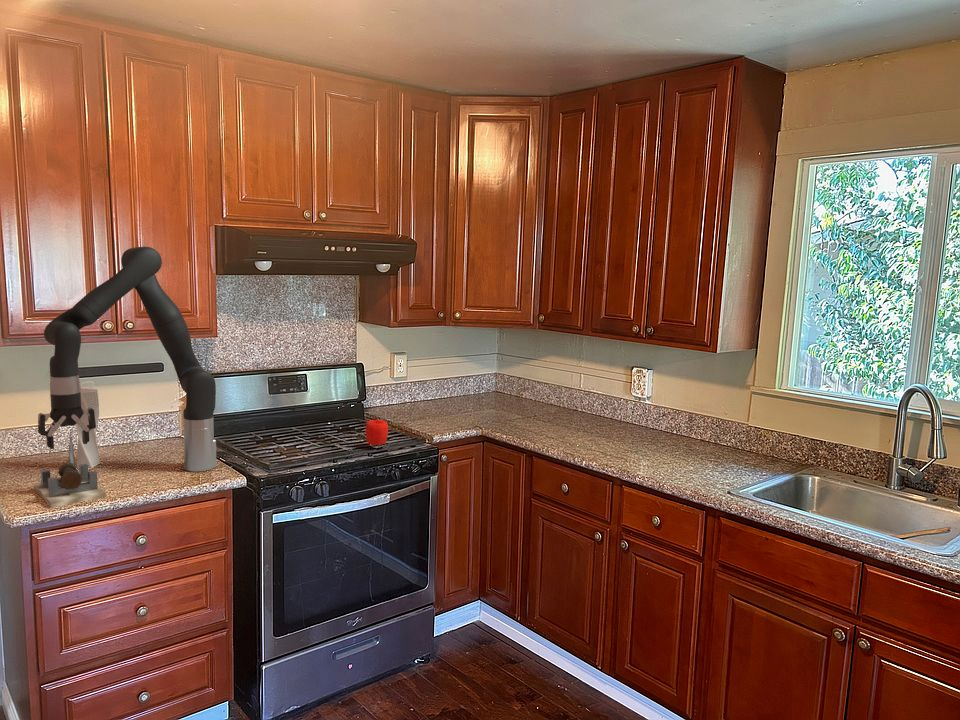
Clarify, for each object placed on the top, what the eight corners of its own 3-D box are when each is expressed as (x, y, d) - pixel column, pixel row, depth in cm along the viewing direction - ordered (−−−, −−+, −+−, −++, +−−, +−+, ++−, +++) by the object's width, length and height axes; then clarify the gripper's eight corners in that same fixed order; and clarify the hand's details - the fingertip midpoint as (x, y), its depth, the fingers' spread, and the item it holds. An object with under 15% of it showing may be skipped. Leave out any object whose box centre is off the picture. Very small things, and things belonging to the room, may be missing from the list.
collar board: (86, 479, 217) (86, 475, 217) (106, 497, 203) (106, 492, 203) (34, 488, 208) (33, 483, 207) (50, 507, 193) (50, 502, 193)
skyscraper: (81, 463, 235) (78, 380, 231) (106, 463, 235) (103, 381, 231) (67, 470, 226) (64, 385, 222) (93, 471, 227) (90, 386, 223)
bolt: (70, 480, 211) (75, 493, 199) (52, 473, 208) (56, 486, 196) (80, 462, 212) (86, 474, 200) (63, 456, 209) (67, 467, 197)
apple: (369, 443, 273) (370, 416, 272) (391, 446, 272) (391, 418, 270) (361, 449, 265) (362, 421, 263) (383, 451, 263) (384, 423, 262)
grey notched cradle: (87, 479, 213) (86, 463, 212) (97, 489, 205) (97, 472, 204) (41, 486, 205) (40, 470, 204) (50, 497, 197) (49, 480, 196)
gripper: (89, 386, 208) (91, 439, 211) (33, 391, 199) (37, 447, 201) (96, 390, 203) (99, 445, 205) (39, 396, 193) (43, 453, 196)
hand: (68, 446), depth 203 cm, fingers open, 8 cm apart
